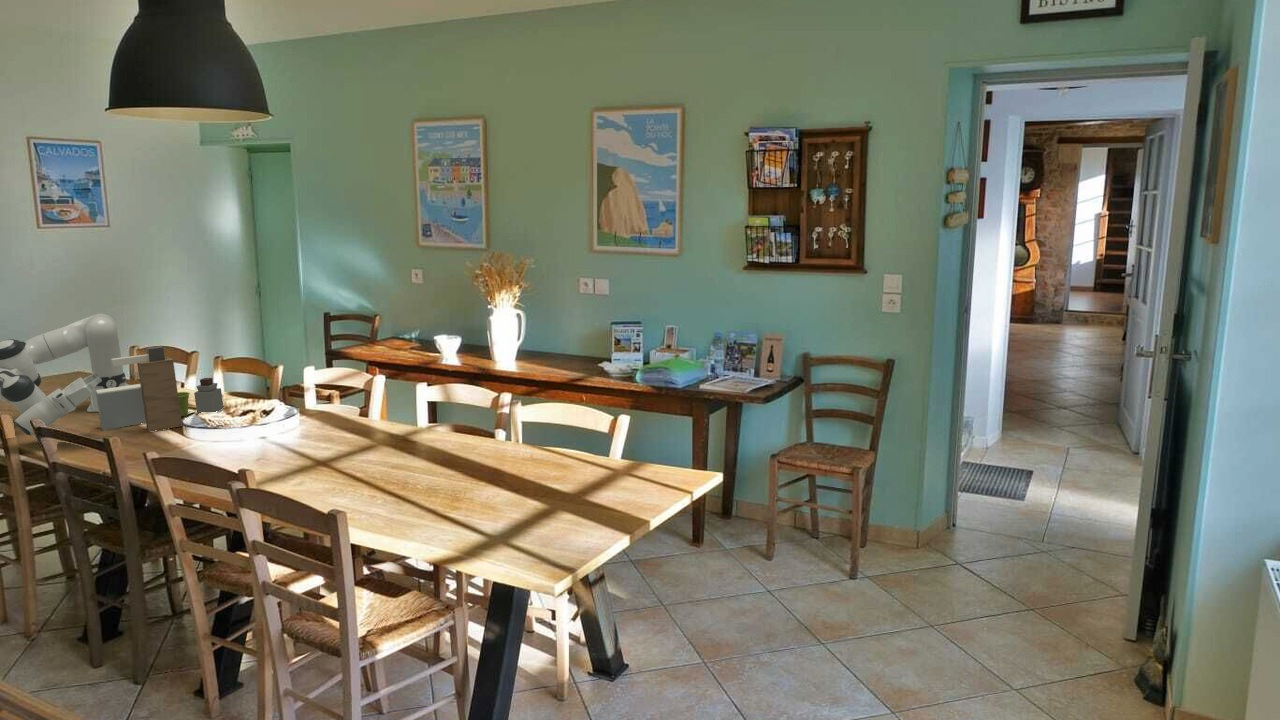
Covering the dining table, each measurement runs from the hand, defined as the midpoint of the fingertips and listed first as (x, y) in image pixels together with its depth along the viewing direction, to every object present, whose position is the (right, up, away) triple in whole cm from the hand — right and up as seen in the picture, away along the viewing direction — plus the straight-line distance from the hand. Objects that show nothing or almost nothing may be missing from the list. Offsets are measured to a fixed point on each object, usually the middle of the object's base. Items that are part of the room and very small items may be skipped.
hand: (98, 376), depth 334 cm
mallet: (+10, +5, +7) cm, 14 cm away
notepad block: (-2, -19, +22) cm, 29 cm away
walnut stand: (+16, -20, +16) cm, 30 cm away
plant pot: (+13, -16, +33) cm, 39 cm away
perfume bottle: (+33, -19, +17) cm, 42 cm away
